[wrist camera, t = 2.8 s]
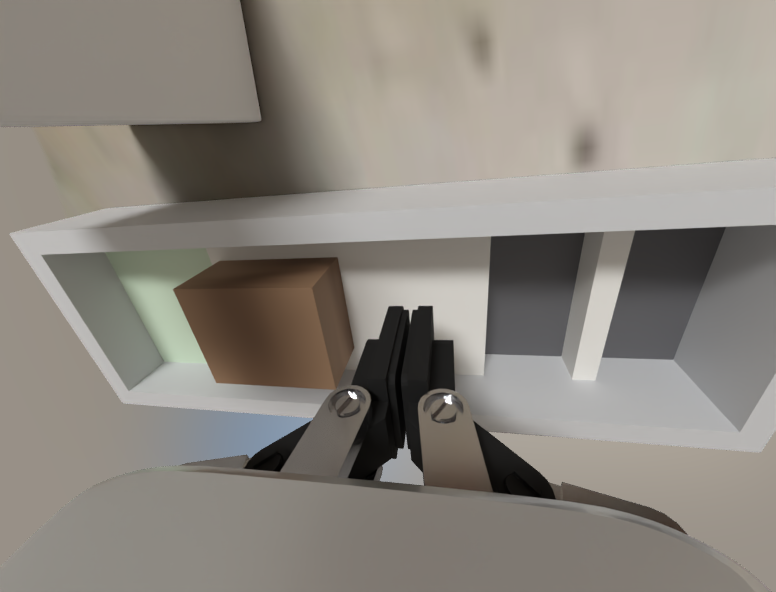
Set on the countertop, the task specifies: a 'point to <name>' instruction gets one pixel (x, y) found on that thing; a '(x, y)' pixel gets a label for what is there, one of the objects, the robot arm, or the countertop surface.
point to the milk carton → (124, 63)
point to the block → (271, 321)
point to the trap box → (472, 295)
